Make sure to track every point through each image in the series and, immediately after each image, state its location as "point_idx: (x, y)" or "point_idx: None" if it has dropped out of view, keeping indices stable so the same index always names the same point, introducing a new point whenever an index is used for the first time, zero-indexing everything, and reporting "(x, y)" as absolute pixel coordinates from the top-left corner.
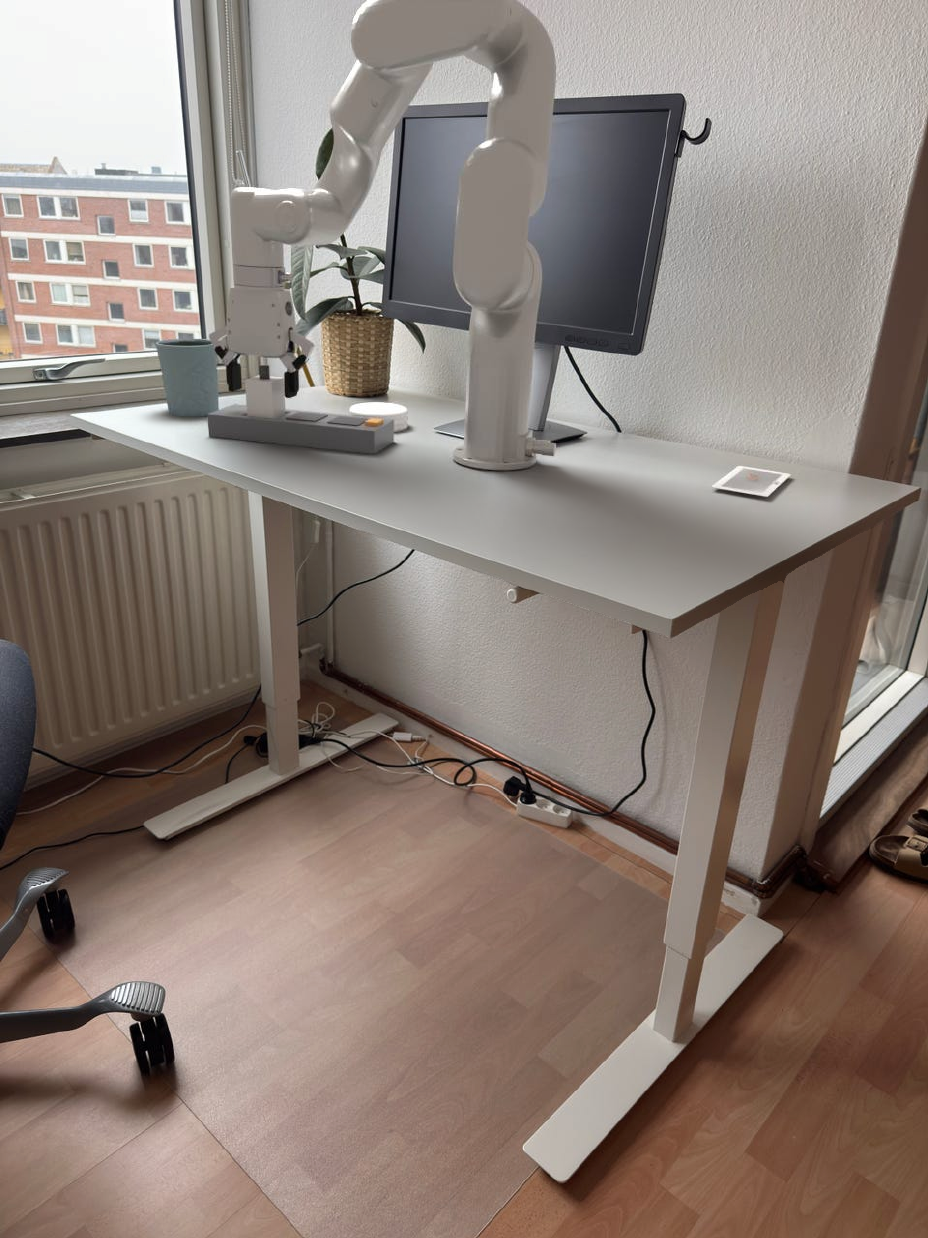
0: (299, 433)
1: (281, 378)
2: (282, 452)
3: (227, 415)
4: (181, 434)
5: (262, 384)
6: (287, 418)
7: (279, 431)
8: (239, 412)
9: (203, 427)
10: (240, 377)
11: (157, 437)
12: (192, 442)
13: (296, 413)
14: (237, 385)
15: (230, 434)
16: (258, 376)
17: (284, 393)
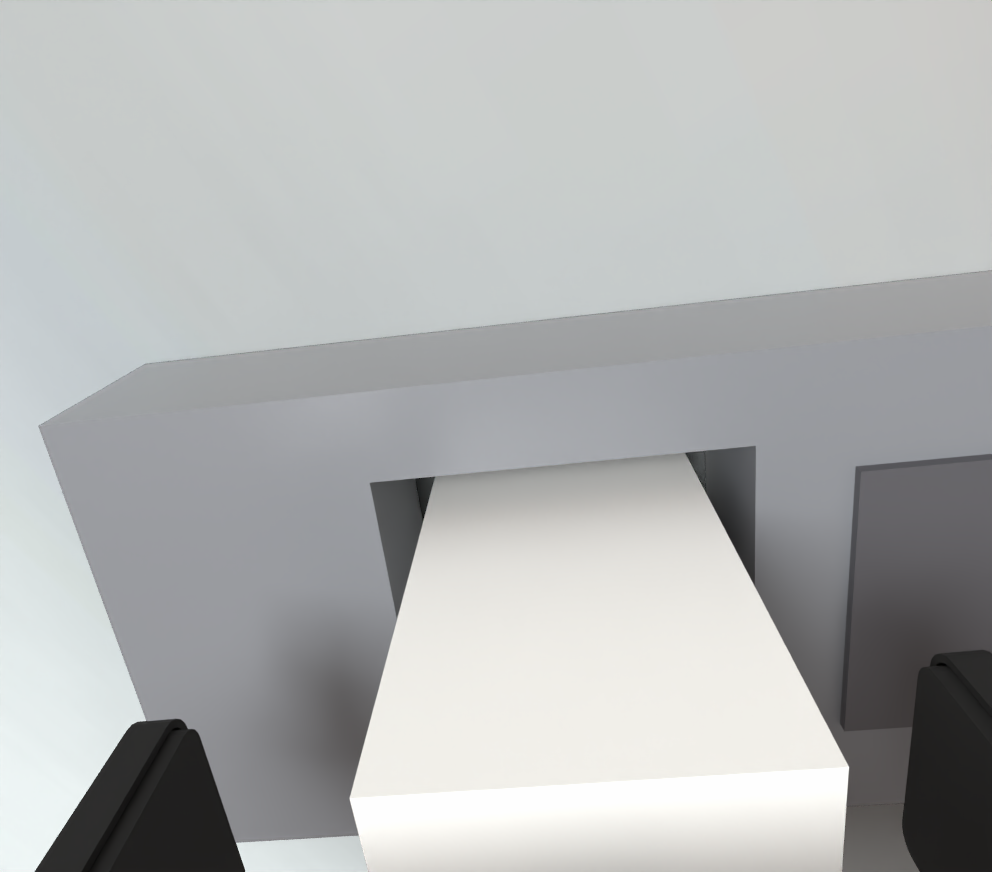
0: None
1: (833, 829)
2: (871, 823)
3: (346, 815)
4: (85, 749)
5: None
6: (860, 726)
7: None
8: (347, 696)
9: (23, 543)
10: (135, 858)
11: (46, 850)
12: (286, 854)
13: (865, 544)
14: (206, 849)
15: None
16: (412, 857)
17: (763, 610)
